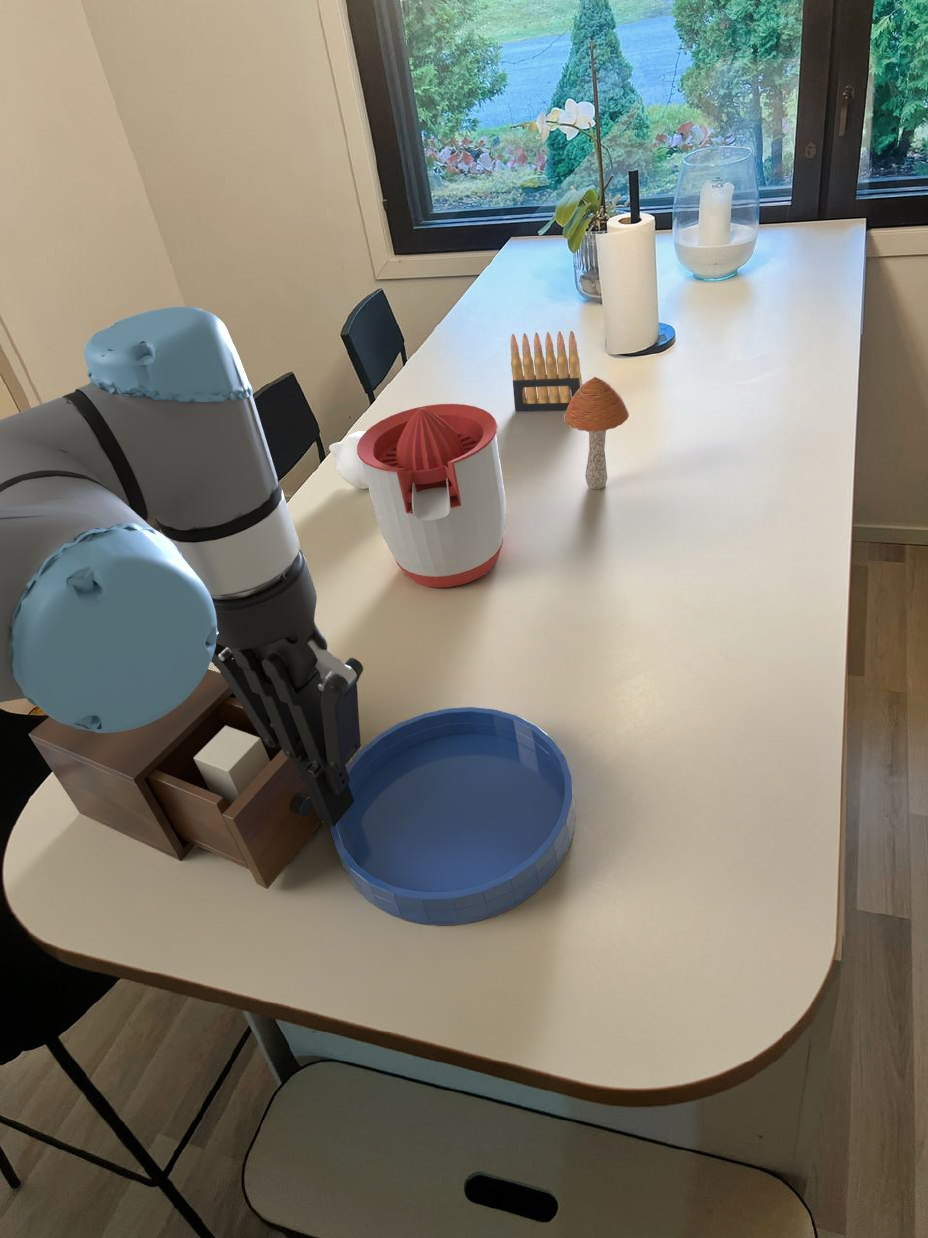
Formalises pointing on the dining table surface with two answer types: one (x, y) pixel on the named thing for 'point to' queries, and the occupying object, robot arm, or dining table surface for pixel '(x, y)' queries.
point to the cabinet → (127, 766)
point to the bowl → (456, 816)
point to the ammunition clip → (539, 379)
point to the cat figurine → (350, 460)
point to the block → (231, 762)
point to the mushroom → (596, 423)
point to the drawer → (236, 802)
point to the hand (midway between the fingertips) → (337, 810)
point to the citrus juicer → (437, 491)
